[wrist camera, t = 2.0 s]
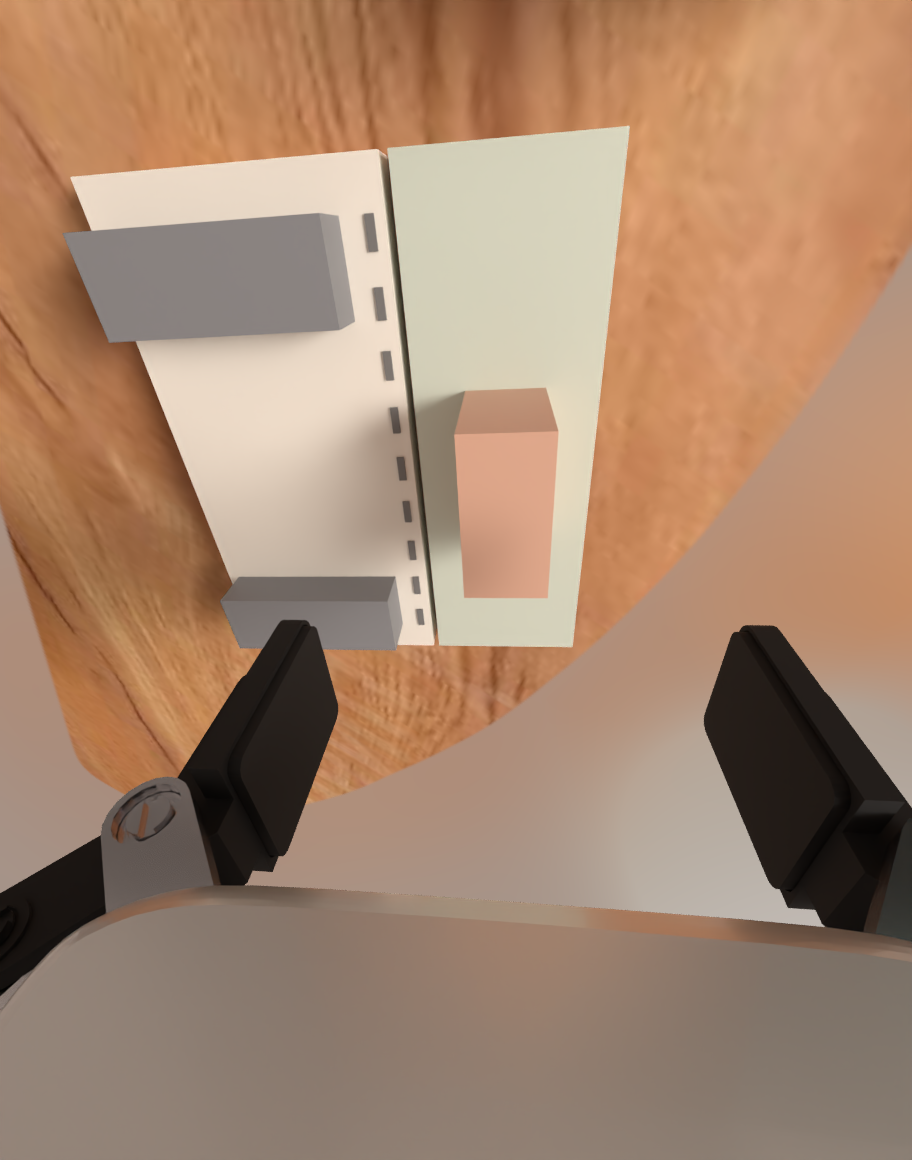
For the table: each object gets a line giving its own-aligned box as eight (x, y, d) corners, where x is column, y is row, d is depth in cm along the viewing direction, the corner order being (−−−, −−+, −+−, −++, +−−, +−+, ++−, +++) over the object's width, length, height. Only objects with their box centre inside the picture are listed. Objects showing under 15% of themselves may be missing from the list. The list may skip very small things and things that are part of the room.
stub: (396, 155, 16) (341, 111, 10) (619, 135, 15) (683, 77, 10) (442, 627, 27) (427, 721, 22) (569, 628, 26) (585, 725, 21)
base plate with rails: (102, 181, 17) (18, 169, 14) (387, 155, 16) (361, 137, 13) (266, 625, 28) (240, 669, 25) (436, 626, 27) (429, 672, 24)
